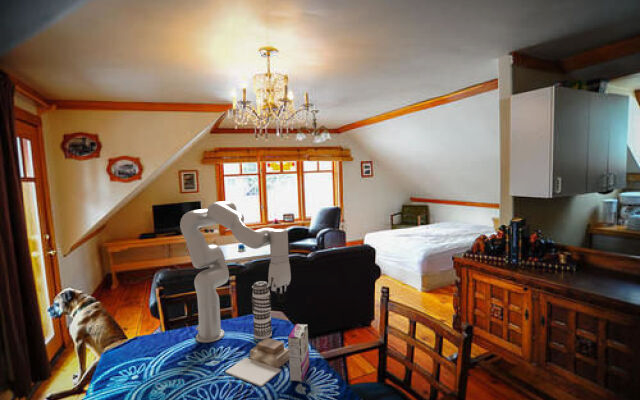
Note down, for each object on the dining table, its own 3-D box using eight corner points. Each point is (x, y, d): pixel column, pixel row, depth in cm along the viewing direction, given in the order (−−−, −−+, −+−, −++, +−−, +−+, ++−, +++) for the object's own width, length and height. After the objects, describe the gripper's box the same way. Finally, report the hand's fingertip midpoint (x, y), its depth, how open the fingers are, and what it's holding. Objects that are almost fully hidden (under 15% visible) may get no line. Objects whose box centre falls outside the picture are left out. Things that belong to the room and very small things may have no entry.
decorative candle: (271, 339, 151) (269, 285, 150) (251, 339, 151) (248, 286, 150) (274, 330, 160) (272, 279, 159) (255, 330, 160) (253, 280, 159)
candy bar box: (297, 364, 130) (295, 323, 129) (309, 365, 129) (308, 324, 128) (289, 381, 119) (287, 336, 118) (302, 382, 118) (300, 337, 117)
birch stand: (250, 359, 134) (250, 350, 134) (263, 350, 141) (263, 341, 141) (277, 368, 127) (277, 358, 127) (290, 359, 134) (289, 349, 134)
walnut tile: (257, 349, 134) (257, 343, 134) (267, 343, 139) (266, 337, 139) (274, 355, 129) (274, 349, 129) (284, 348, 135) (283, 342, 134)
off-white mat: (225, 372, 126) (225, 371, 126) (246, 358, 135) (245, 357, 135) (261, 386, 116) (261, 385, 116) (280, 371, 126) (280, 369, 126)
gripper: (283, 254, 147) (285, 294, 148) (260, 261, 135) (262, 306, 136) (297, 255, 143) (298, 297, 145) (275, 263, 131) (276, 309, 132)
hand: (281, 301), depth 140 cm, fingers closed
